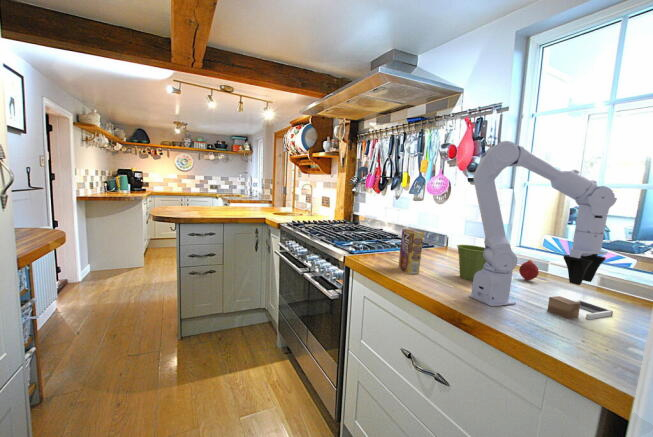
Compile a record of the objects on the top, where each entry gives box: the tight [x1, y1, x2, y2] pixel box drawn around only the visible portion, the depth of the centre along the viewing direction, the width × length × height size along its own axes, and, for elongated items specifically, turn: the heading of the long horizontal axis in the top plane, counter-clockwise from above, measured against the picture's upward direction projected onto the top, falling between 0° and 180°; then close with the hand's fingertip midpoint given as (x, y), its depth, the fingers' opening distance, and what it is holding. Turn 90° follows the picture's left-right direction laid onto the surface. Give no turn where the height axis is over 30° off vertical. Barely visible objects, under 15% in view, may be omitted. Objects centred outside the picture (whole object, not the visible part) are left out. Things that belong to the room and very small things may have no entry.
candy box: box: [397, 228, 425, 275], centre depth 109 cm, size 9×4×15 cm, turn 13°
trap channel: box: [574, 299, 614, 320], centre depth 80 cm, size 11×8×1 cm
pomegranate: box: [518, 258, 539, 282], centre depth 107 cm, size 6×6×8 cm
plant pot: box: [456, 244, 486, 282], centre depth 104 cm, size 12×12×11 cm
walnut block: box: [546, 295, 581, 320], centre depth 77 cm, size 4×5×4 cm
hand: (580, 282), depth 78 cm, fingers open, 7 cm apart
